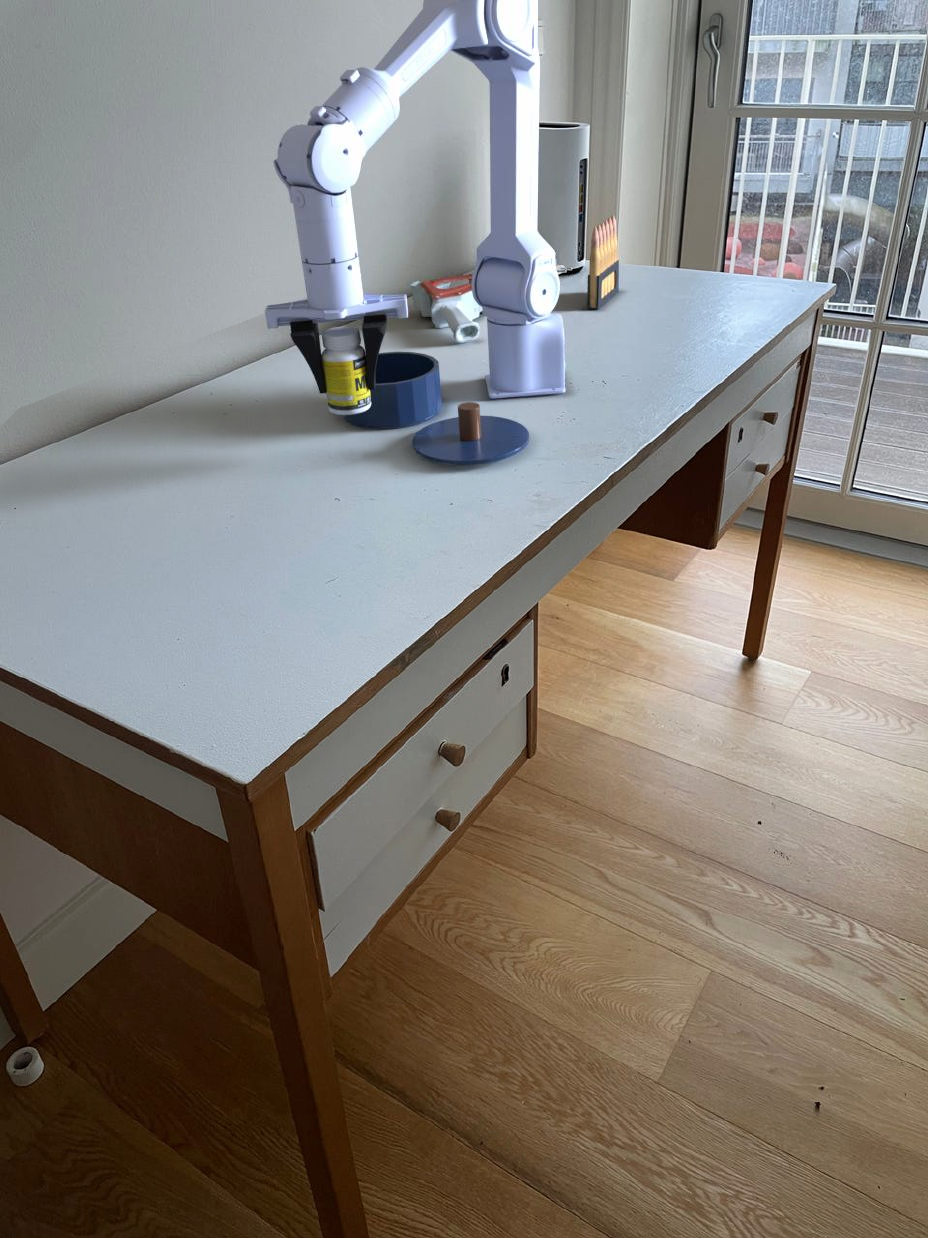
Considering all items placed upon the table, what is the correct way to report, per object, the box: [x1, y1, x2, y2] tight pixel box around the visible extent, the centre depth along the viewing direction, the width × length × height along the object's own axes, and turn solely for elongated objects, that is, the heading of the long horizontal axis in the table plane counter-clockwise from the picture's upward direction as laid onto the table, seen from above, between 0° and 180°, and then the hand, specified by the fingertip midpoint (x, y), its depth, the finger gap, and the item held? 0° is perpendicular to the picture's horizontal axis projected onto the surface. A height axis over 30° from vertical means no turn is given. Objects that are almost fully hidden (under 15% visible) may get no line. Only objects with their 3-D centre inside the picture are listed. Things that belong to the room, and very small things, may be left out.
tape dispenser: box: [410, 273, 483, 344], centre depth 149 cm, size 18×5×20 cm
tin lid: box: [411, 401, 530, 466], centre depth 108 cm, size 13×13×5 cm
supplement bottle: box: [321, 325, 371, 416], centre depth 104 cm, size 5×5×8 cm
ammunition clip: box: [586, 214, 620, 311], centre depth 152 cm, size 11×2×12 cm, turn 155°
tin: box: [342, 351, 443, 430], centre depth 119 cm, size 12×12×5 cm
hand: (347, 388), depth 105 cm, fingers closed on supplement bottle, 5 cm apart
